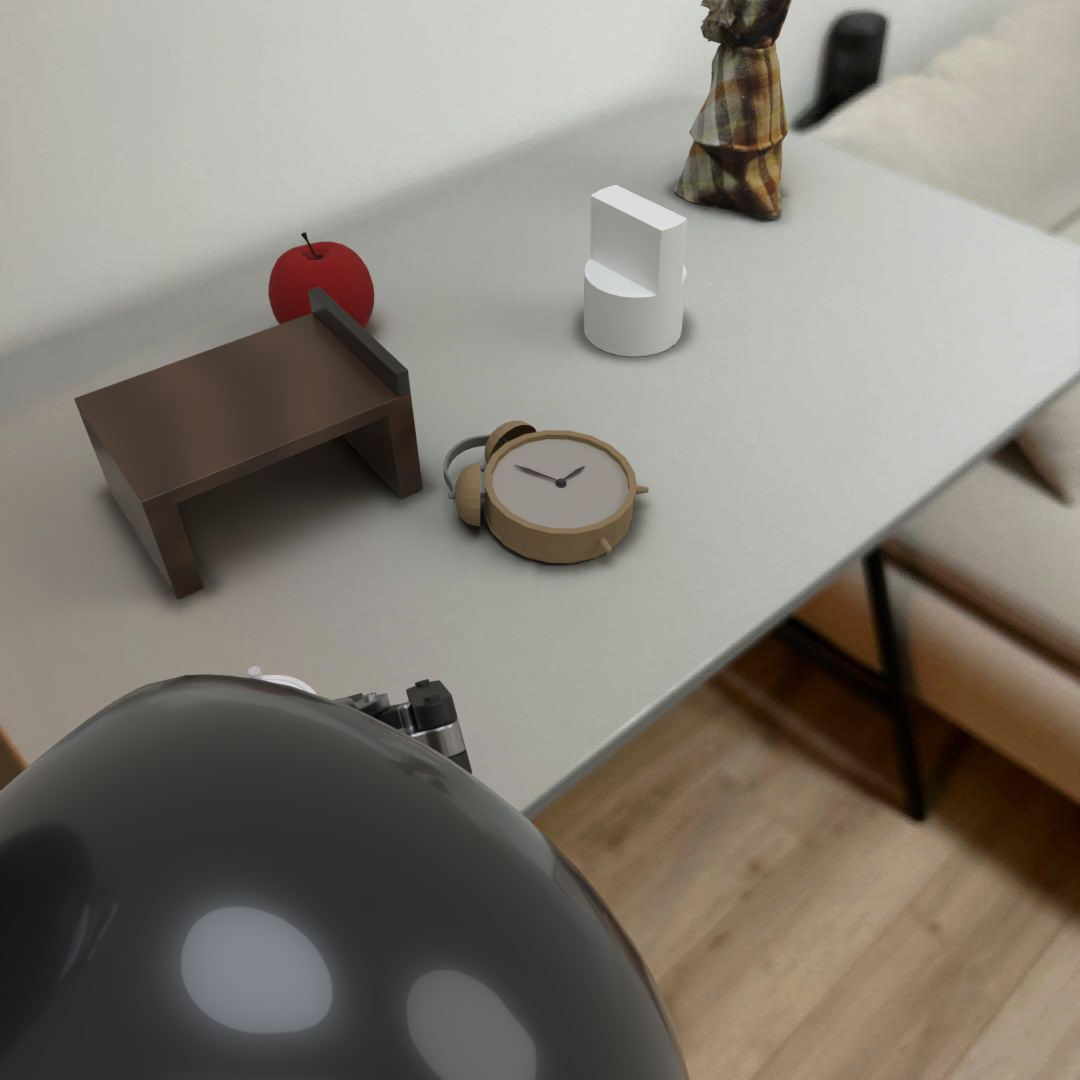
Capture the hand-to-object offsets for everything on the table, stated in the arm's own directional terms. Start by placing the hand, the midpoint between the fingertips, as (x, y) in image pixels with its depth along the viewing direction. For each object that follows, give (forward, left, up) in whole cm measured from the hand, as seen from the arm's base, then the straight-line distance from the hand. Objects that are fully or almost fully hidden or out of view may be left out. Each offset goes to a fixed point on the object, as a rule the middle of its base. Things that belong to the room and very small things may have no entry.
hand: (246, 755), depth 40 cm
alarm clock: (+30, +25, -22) cm, 45 cm away
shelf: (+14, +39, -22) cm, 47 cm away
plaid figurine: (+76, +55, -22) cm, 96 cm away
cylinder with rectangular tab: (+51, +40, -22) cm, 68 cm away
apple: (+28, +56, -22) cm, 66 cm away
